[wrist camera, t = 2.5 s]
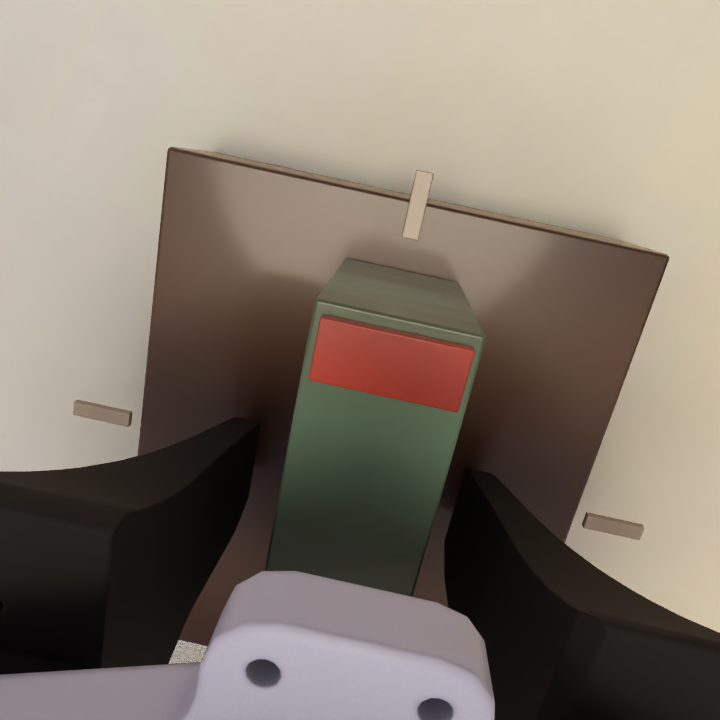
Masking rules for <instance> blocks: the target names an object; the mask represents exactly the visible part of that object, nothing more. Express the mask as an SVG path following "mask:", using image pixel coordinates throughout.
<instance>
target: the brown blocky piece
mask: <svg viewBox="0 0 720 720" xmlns="http://www.w3.org/2000/svg"><path fill="white" fill-rule="evenodd" d="M432 179H433V173H429V172H424V171H420V170H417V171H416V175H415V179H414V184H413V188H412V193H411V195H409V194H404V193H400V192H395V191H390V190H386V189H381V188H377V187H372V186H367V185H363V184H358V183H354V182H349V181H344V180H340V179H335V178H331V177H326V176H321V175H317V174H312V173H308V172H303V171H298V170H294V169H289V168H285V167H280V166H275V165H271V164H266V163H261V162H257V161H252V160H248V159H243V158H238V157H234V156H229V155H225V154H220V153H215V152H209V151H201V150H192V149H184V148H175V147H171V148H169V149H168V152H167V162H166V172H165V183H164V193H163V203H162V213H161V223H160V234H159V244H158V254H157V264H156V274H155V285H154V295H153V305H152V315H151V326H150V336H149V346H148V356H147V366H146V377H145V387H144V397H143V407H142V417H141V428H140V438H139V448H138V456H140V455H144V454H147V453H150V452H153V451H156V450H159V449H162V448H165V447H167V446H170V445H172V444H175V443H177V442H180V441H183V440H185V439H188V438H190V437H192V436H194V435H197V434H199V433H201V432H203V431H205V430H208V429H210V428H212V427H214V426H216V425H218V424H220V423H222V422H225V421H227V420H229V419H231V418H234V417H239V418H244V419H248V420H253V421H258V422H261V426H260V432H259V438H258V444H257V450H256V456H255V462H254V468H253V474H252V480H251V486H250V492H249V497H248V500H247V503H246V505H245V508H244V511H243V513H242V516H241V518H240V521H239V523H238V526H237V528H236V531H235V533H234V534H233V536H232V538H231V540H230V542H229V544H228V545H227V547H226V549H225V551H224V553H223V554H222V556H221V558H220V560H219V562H218V563H217V565H216V567H215V569H214V570H213V572H212V574H211V576H210V577H209V579H208V581H207V583H206V585H205V586H204V588H203V590H202V592H201V593H200V595H199V597H198V599H197V601H196V602H195V604H194V606H193V608H192V610H191V612H190V614H189V616H188V618H187V621H186V623H185V625H184V628H183V630H182V632H181V635H180V637H179V639H178V640H183V641H187V642H192V643H196V644H201V645H205V646H208V644H209V642H210V640H211V637H212V635H213V633H214V630H215V628H216V625H217V623H218V621H219V618H220V616H221V614H222V611H223V609H224V607H225V605H226V603H227V601H228V599H229V598H230V596H231V594H232V592H233V590H234V588H235V586H236V585H238V584H239V583H241V582H243V581H245V580H247V579H249V578H251V577H252V576H254V575H256V574H258V573H260V572H262V571H265V566H266V561H267V555H268V550H269V544H270V539H271V534H272V528H273V523H274V518H275V512H276V507H277V501H278V496H279V491H280V485H281V480H282V474H283V469H284V464H285V458H286V453H287V447H288V442H289V437H290V431H291V426H292V421H293V415H294V410H295V404H296V399H297V394H298V388H299V383H300V377H301V372H302V367H303V361H304V356H305V350H306V345H307V340H308V334H309V329H310V323H311V318H312V313H313V307H314V302H315V300H316V299H317V297H318V296H319V294H320V293H321V292H322V290H323V289H324V287H325V286H326V285H327V283H328V282H329V280H330V279H331V278H332V276H333V275H334V274H335V272H336V271H337V269H338V268H339V267H340V265H341V264H342V262H343V261H344V260H345V259H347V258H348V259H352V260H357V261H361V262H366V263H371V264H375V265H380V266H384V267H389V268H393V269H398V270H403V271H407V272H412V273H416V274H421V275H425V276H430V277H435V278H439V279H444V280H448V281H453V282H458V283H459V284H460V286H461V288H462V290H463V292H464V294H465V296H466V298H467V300H468V302H469V304H470V306H471V308H472V310H473V312H474V314H475V316H476V318H477V320H478V322H479V324H480V326H481V328H482V330H483V332H484V334H485V337H486V340H485V343H484V347H483V350H482V354H481V357H480V361H479V364H478V368H477V371H476V375H475V378H474V382H473V385H472V389H471V392H470V396H469V400H468V403H467V407H466V410H465V414H464V417H463V421H462V424H461V428H460V431H459V435H458V438H457V442H456V445H455V449H454V452H453V456H452V459H451V463H450V466H449V470H448V474H447V477H446V481H445V484H444V488H443V491H442V495H441V498H440V502H439V505H438V509H437V512H436V516H435V519H434V523H433V526H432V530H431V533H430V537H429V540H428V544H427V547H426V551H425V555H424V558H423V562H422V565H421V569H420V572H419V576H418V579H417V583H416V586H415V590H414V593H413V597H415V598H420V599H424V600H428V601H433V602H437V603H439V604H442V605H444V606H446V607H448V601H447V594H446V587H445V579H444V540H445V537H446V534H447V530H448V527H449V523H450V520H451V517H452V513H453V510H454V506H455V503H456V500H457V496H458V493H459V489H460V486H461V483H462V479H463V476H464V472H465V469H466V468H470V469H475V470H479V471H484V472H488V473H492V474H493V475H494V476H495V477H497V478H498V479H499V480H500V481H501V482H502V483H503V484H504V485H505V486H506V487H507V488H508V489H509V490H510V491H511V492H512V494H513V495H514V496H515V497H516V498H517V499H518V500H519V501H520V502H521V503H522V504H523V505H524V506H525V507H526V508H527V509H528V510H529V511H530V512H531V513H532V514H533V515H534V516H535V517H536V518H537V519H538V520H539V521H540V522H541V523H542V524H543V525H544V526H545V527H547V528H548V529H549V530H550V531H551V532H552V533H553V534H554V535H556V536H557V537H558V538H559V539H560V540H561V541H562V542H564V543H565V540H566V537H567V534H568V532H569V529H570V526H571V524H572V521H573V518H574V515H575V513H576V510H577V507H578V505H579V502H580V499H581V496H582V494H583V491H584V488H585V486H586V483H587V480H588V478H589V475H590V472H591V469H592V467H593V464H594V461H595V459H596V456H597V453H598V450H599V448H600V445H601V442H602V440H603V437H604V434H605V431H606V429H607V426H608V423H609V421H610V418H611V415H612V412H613V410H614V407H615V404H616V402H617V399H618V396H619V393H620V391H621V388H622V385H623V383H624V380H625V377H626V374H627V372H628V369H629V366H630V364H631V361H632V358H633V355H634V353H635V350H636V347H637V345H638V342H639V339H640V337H641V334H642V331H643V328H644V326H645V323H646V320H647V318H648V315H649V312H650V309H651V307H652V304H653V301H654V299H655V296H656V293H657V290H658V288H659V285H660V282H661V280H662V277H663V274H664V271H665V269H666V266H667V263H668V261H669V256H668V255H666V254H663V253H660V252H657V251H653V250H650V249H647V248H643V247H640V246H637V245H634V244H630V243H627V242H624V241H621V240H616V239H611V238H607V237H602V236H598V235H593V234H588V233H584V232H579V231H575V230H570V229H565V228H561V227H556V226H552V225H547V224H542V223H538V222H533V221H529V220H524V219H519V218H515V217H510V216H505V215H501V214H496V213H492V212H487V211H482V210H478V209H473V208H469V207H464V206H459V205H455V204H450V203H446V202H441V201H436V200H432V199H428V196H429V192H430V187H431V183H432ZM73 415H77V416H81V417H86V418H90V419H95V420H99V421H104V422H108V423H113V424H117V425H122V426H126V427H129V426H130V425H131V419H132V412H131V411H126V410H122V409H117V408H113V407H108V406H104V405H99V404H95V403H90V402H86V401H81V400H76V401H75V402H74V412H73ZM582 526H583V527H584V528H587V529H592V530H596V531H601V532H605V533H610V534H614V535H619V536H623V537H628V538H632V539H637V540H640V537H641V535H642V533H643V530H644V527H643V525H642V524H637V523H632V522H628V521H623V520H619V519H614V518H610V517H605V516H601V515H596V514H592V513H587V512H586V515H585V517H584V520H583V523H582Z"/></svg>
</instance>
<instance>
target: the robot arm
mask: <svg viewBox="0 0 720 720" xmlns="http://www.w3.org/2000/svg"><path fill="white" fill-rule="evenodd" d="M260 426H261V422H258V421H253V420H248V419H244V418H239V417H234V418H231V419H229V420H227V421H225V422H222V423H220V424H218V425H216V426H214V427H212V428H210V429H208V430H205V431H203V432H201V433H199V434H197V435H194V436H192V437H190V438H188V439H185V440H183V441H180V442H177V443H175V444H172V445H170V446H167V447H165V448H162V449H159V450H156V451H153V452H150V453H147V454H144V455H140V456H136V457H133V458H129V459H125V460H121V461H116V462H110V463H105V464H99V465H93V466H87V467H81V468H73V469H63V470H50V471H32V472H0V720H720V633H718V632H716V631H714V630H711V629H709V628H707V627H704V626H702V625H700V624H697V623H695V622H693V621H690V620H688V619H686V618H684V617H681V616H679V615H677V614H675V613H673V612H671V611H669V610H667V609H666V608H664V607H662V606H660V605H658V604H656V603H654V602H652V601H650V600H648V599H646V598H645V597H643V596H641V595H639V594H637V593H636V592H634V591H632V590H631V589H629V588H627V587H626V586H624V585H622V584H621V583H619V582H618V581H616V580H614V579H613V578H611V577H610V576H608V575H606V574H605V573H604V572H602V571H601V570H599V569H598V568H596V567H595V566H593V565H592V564H591V563H589V562H588V561H587V560H585V559H584V558H583V557H581V556H580V555H579V554H577V553H576V552H575V551H573V550H572V549H571V548H570V547H568V546H567V545H566V544H565V543H564V542H562V541H561V540H560V539H559V538H558V537H557V536H556V535H554V534H553V533H552V532H551V531H550V530H549V529H548V528H547V527H545V526H544V525H543V524H542V523H541V522H540V521H539V520H538V519H537V518H536V517H535V516H534V515H533V514H532V513H531V512H530V511H529V510H528V509H527V508H526V507H525V506H524V505H523V504H522V503H521V502H520V501H519V500H518V499H517V498H516V497H515V496H514V495H513V494H512V492H511V491H510V490H509V489H508V488H507V487H506V486H505V485H504V484H503V483H502V482H501V481H500V480H499V479H498V478H497V477H495V476H494V475H493V474H492V473H488V472H484V471H479V470H475V469H470V468H466V469H465V472H464V476H463V479H462V483H461V486H460V489H459V493H458V496H457V500H456V503H455V506H454V510H453V513H452V517H451V520H450V523H449V527H448V530H447V534H446V537H445V540H444V579H445V587H446V594H447V601H448V607H446V606H444V605H442V604H439V603H437V602H433V601H428V600H424V599H420V598H415V597H411V596H406V595H402V594H397V593H393V592H388V591H384V590H379V589H375V588H370V587H366V586H361V585H357V584H352V583H348V582H343V581H339V580H334V579H330V578H325V577H321V576H316V575H312V574H307V573H303V572H298V571H262V572H260V573H258V574H256V575H254V576H252V577H251V578H249V579H247V580H245V581H243V582H241V583H239V584H238V585H236V586H235V588H234V590H233V592H232V594H231V596H230V598H229V599H228V601H227V603H226V605H225V607H224V609H223V611H222V614H221V616H220V618H219V621H218V623H217V625H216V628H215V630H214V633H213V635H212V637H211V640H210V642H209V644H208V647H207V649H206V652H205V654H204V656H203V659H202V661H201V662H195V663H179V664H168V663H169V661H170V658H171V656H172V654H173V651H174V649H175V646H176V644H177V642H178V639H179V637H180V635H181V632H182V630H183V628H184V625H185V623H186V621H187V618H188V616H189V614H190V612H191V610H192V608H193V606H194V604H195V602H196V601H197V599H198V597H199V595H200V593H201V592H202V590H203V588H204V586H205V585H206V583H207V581H208V579H209V577H210V576H211V574H212V572H213V570H214V569H215V567H216V565H217V563H218V562H219V560H220V558H221V556H222V554H223V553H224V551H225V549H226V547H227V545H228V544H229V542H230V540H231V538H232V536H233V534H234V533H235V531H236V528H237V526H238V523H239V521H240V518H241V516H242V513H243V511H244V508H245V505H246V503H247V500H248V497H249V492H250V486H251V480H252V474H253V468H254V462H255V456H256V450H257V444H258V438H259V432H260Z"/></svg>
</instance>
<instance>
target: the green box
mask: <svg viewBox="0 0 720 720" xmlns="http://www.w3.org/2000/svg"><path fill="white" fill-rule="evenodd" d="M485 340H486V337H485V334H484V332H483V330H482V328H481V326H480V324H479V322H478V320H477V318H476V316H475V314H474V312H473V310H472V308H471V306H470V304H469V302H468V300H467V298H466V296H465V294H464V292H463V290H462V288H461V286H460V284H459V283H458V282H453V281H448V280H444V279H439V278H435V277H430V276H425V275H421V274H416V273H412V272H407V271H403V270H398V269H393V268H389V267H384V266H380V265H375V264H371V263H366V262H361V261H357V260H352V259H348V258H347V259H345V260H344V261H343V262H342V264H341V265H340V267H339V268H338V269H337V271H336V272H335V274H334V275H333V276H332V278H331V279H330V280H329V282H328V283H327V285H326V286H325V287H324V289H323V290H322V292H321V293H320V294H319V296H318V297H317V299H316V300H315V302H314V307H313V313H312V318H311V323H310V329H309V334H308V340H307V345H306V350H305V356H304V361H303V367H302V372H301V377H300V383H299V388H298V394H297V399H296V404H295V410H294V415H293V421H292V426H291V431H290V437H289V442H288V447H287V453H286V458H285V464H284V469H283V474H282V480H281V485H280V491H279V496H278V501H277V507H276V512H275V518H274V523H273V528H272V534H271V539H270V544H269V550H268V555H267V561H266V566H265V571H298V572H303V573H307V574H312V575H316V576H321V577H325V578H330V579H334V580H339V581H343V582H348V583H352V584H357V585H361V586H366V587H370V588H375V589H379V590H384V591H388V592H393V593H397V594H402V595H406V596H411V597H413V593H414V590H415V586H416V583H417V579H418V576H419V572H420V569H421V565H422V562H423V558H424V555H425V551H426V547H427V544H428V540H429V537H430V533H431V530H432V526H433V523H434V519H435V516H436V512H437V509H438V505H439V502H440V498H441V495H442V491H443V488H444V484H445V481H446V477H447V474H448V470H449V466H450V463H451V459H452V456H453V452H454V449H455V445H456V442H457V438H458V435H459V431H460V428H461V424H462V421H463V417H464V414H465V410H466V407H467V403H468V400H469V396H470V392H471V389H472V385H473V382H474V378H475V375H476V371H477V368H478V364H479V361H480V357H481V354H482V350H483V347H484V343H485Z"/></svg>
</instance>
